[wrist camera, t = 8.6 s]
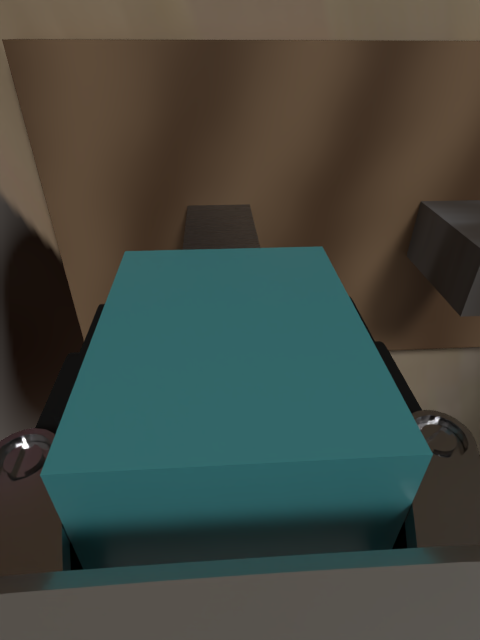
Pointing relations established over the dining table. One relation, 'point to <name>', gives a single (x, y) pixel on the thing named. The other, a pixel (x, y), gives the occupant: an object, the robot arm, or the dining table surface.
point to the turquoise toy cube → (231, 417)
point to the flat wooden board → (269, 162)
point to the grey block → (220, 227)
